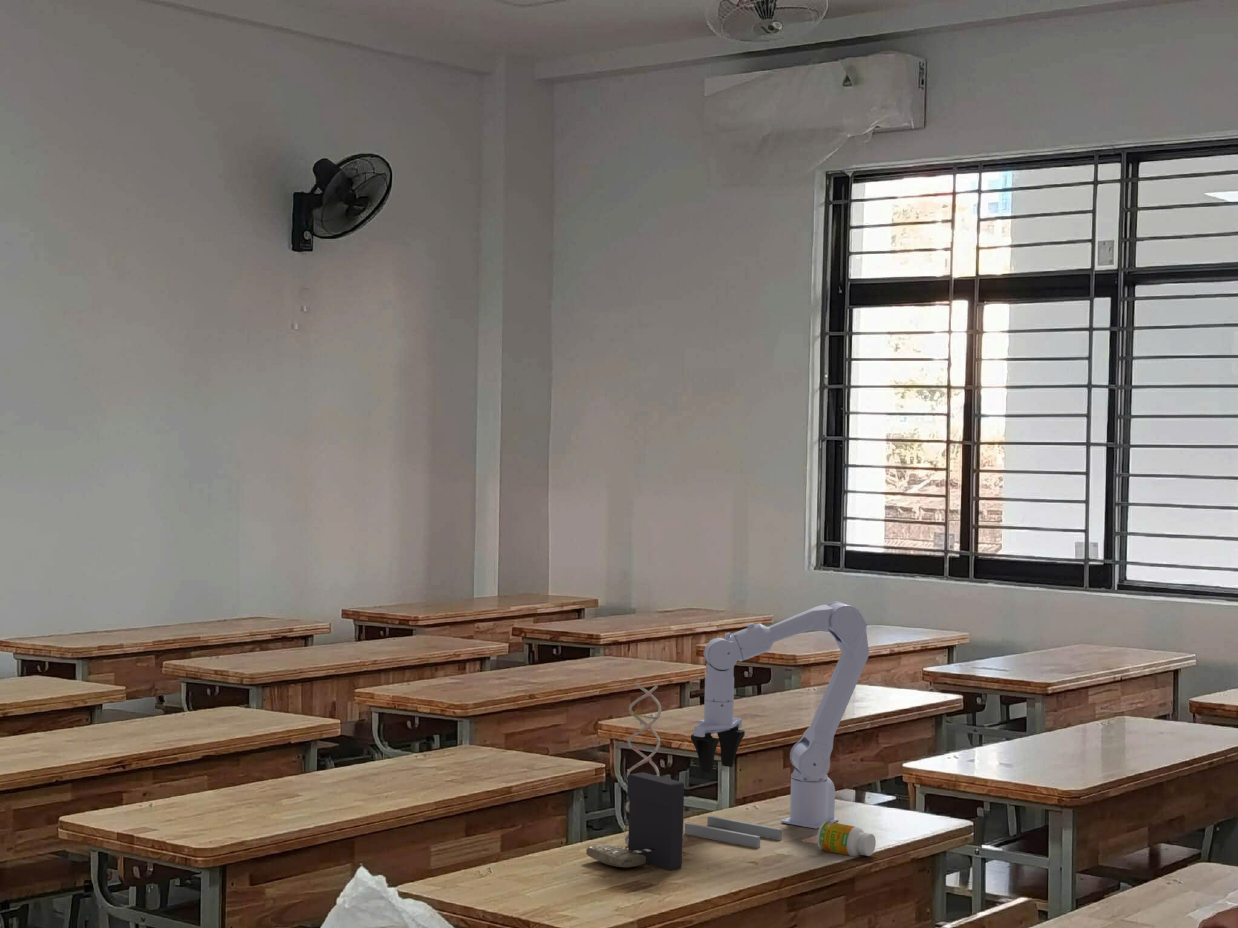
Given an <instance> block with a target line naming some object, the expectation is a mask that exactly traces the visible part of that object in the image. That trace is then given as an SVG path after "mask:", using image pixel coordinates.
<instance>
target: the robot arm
mask: <svg viewBox="0 0 1238 928" xmlns="http://www.w3.org/2000/svg"><path fill="white" fill-rule="evenodd" d="M867 625H868V624H867V622H866V620H865V619H864V616H863V615H862V613H861V611H860V610H859V609H858V608H856V607H855V606H852V605H849V604H847V603H845V602H843V601H839V600H838V601H837V600H835V601H832V602H829V603H828V604H821V605H817V606H815V607H812V608H810V609H807V610H805V611H803V612H800V613H797V614H795V615H793V616H791V617H788V618H785V619H784V620H781V621H779V622H776V623H774V624H771V625H769V626H766V625H764V624H762V623H757V624H756V623H753V622H750V623H748V624H746V628H744V629H740V630H739V631H735V632H733V633H731V632H725V633H724V637H725V638H723V637H716V638H712V639H710V641H709V642H708V643H707V644H706V645H705V648H704V651H702V652H703V658H704V660H705V661H706V662H707V663H706V664H705V665H706V667H705V673H706V674H705V677H704V708H703V709H704V711H703V713H704V714H703V719H699V723H698V724H696V725H694V727H693V733H692V734H691V735H690V740H691V742H692V744H693V745H694V748H695V751H696V753H697V758H698V761H699V766H700V767H699V768H700V770H701V772H702V773H709V774H711V773H713V768H714V764H715V763H714V762H715V755H716V751H717V747H718V744H719V747H720V762H721V766H722V767H728V768H733V766H734V763H735V760H736V755H737V753H738V748H739V747H740V744H741V742H742V740H743V738H744V737H745V734H746V733H745V730H743V729H742V727H743V725H742V724H743V723H742V722H743V719H742V718H738V717H734V702H735V701H734V700H735V697H734V695H735V676H734V674H735V673H734V670H735V669H734V668H735V666H736V664H737V662H743V661H746V660H749V659H751V658H754V657H757V656H759V655H762V654H765V653H767V652H770V651H771V649H772V647H773V645H774V643H775V642H778V641H781V640H784V639H787V638H790V637H792V636H795V635H796V636H797V635H799V634H802V633H805V632H807V631H808V632H809V631H811V630H813V631H814V630H815V631H820V632H826V633H830V635H832V637H834V640H835V641H836V644H837V646H838V648H839V650H840V653H841V655H840V656H839V659H838V660H837V663H836V666H835V668H834V670H833V672H832V674H831V676H830V677H831V678H830V679H829V682H828V684H827V686H826V688H825V691H824V693H823V696H822V697H821V700H820V703H819V705H818V707H817V709H816V711H815V713H814V716H813V718H812V720H811V723H810V725H809V726H808V727H807V729H805V731H804V732H803V733H802V736H801V737H800V738H799V740H798V742H796V743H795V744H793V746H792V747H791V749H790V753H789V761H790V763H791V764H792V766H793V767H794V769H793V772H791V774H790V797H789V798H790V802H789V816H788V817H786V818H782V819H781V820H780V822H781V823H783V824H787V825H792V826H800V827H804V828H805V827H806V828H808V829H809V828H810V829H815V830H817V829H819V828H820V826H821V825H822V823H824V822H826V821H829V822H834V823H837V822H839V818H837V817H835V808H836V807H835V806H836V805H835V803H836V801H835V800H836V789H835V788H836V787H835V784H834V782H833V780H831V778H830V777H828V776H829V775H827V774H828V773H829V771H830V768H831V754H832V751H833V749H834V748H833V747H834V737H835V734H836V732H837V730H838V728H839V725H840V723H841V721H842V718H843V716H844V713H845V711H846V710H847V707H848V705H849V703H850V700H851V698H852V696H853V694H854V692H855V689H856V686H857V684H858V681H859V679H860V677H861V675H862V672H863V670H864V668H865V666H866V664H867V661H868V659H869V655H870V650H869V642H868V635H867V627H868V626H867ZM713 734H717V737H718V738H717V737H714V736H713Z"/></svg>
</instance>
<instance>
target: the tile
mask: <svg viewBox="0 0 1238 928" xmlns="http://www.w3.org/2000/svg"><path fill="white" fill-rule="evenodd" d="M802 841H803V842H802ZM801 842H802V843H806V842H807V844H812V843H813V844H814V845H818V843H817V834H816V835H813V836H810V837H808V838H805V839H803V840H802V839H801Z"/></svg>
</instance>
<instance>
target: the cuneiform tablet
mask: <svg viewBox="0 0 1238 928" xmlns="http://www.w3.org/2000/svg"><path fill="white" fill-rule="evenodd" d="M655 850H656V849H653V848H650V849H643V850H636V851H630V850H628V849H626V848H622V847H618V846H614V845H597V844H596V845H591V846H589V847H587V848H586V855H587V856H588V857H590V858H591V859H594V860H596V861H598V862H600V863H603V864H605V865H608V866H613V867H618V868H633V867H638V866H642V865H644V864H646V863H645V862H646V857H645V856H644V855H640V854H638V853H640V852H647V851H655Z"/></svg>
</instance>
